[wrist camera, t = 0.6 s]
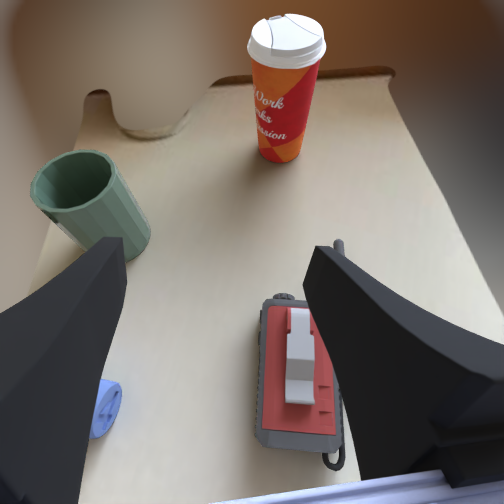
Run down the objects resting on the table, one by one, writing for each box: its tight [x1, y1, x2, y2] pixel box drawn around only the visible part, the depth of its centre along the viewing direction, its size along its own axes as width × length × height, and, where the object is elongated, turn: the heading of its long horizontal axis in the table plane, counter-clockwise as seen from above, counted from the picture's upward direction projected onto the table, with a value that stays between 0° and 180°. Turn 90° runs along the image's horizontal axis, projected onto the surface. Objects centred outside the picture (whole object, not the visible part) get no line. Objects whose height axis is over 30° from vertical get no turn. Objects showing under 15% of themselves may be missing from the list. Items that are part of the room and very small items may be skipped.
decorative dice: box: [89, 379, 122, 439], centre depth 24 cm, size 4×4×4 cm
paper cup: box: [247, 14, 326, 163], centre depth 34 cm, size 8×8×14 cm
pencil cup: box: [30, 150, 151, 262], centre depth 30 cm, size 7×7×10 cm
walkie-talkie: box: [255, 239, 345, 471], centre depth 26 cm, size 9×4×20 cm
